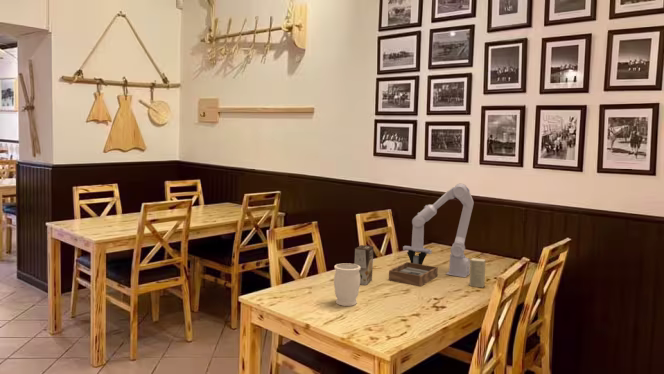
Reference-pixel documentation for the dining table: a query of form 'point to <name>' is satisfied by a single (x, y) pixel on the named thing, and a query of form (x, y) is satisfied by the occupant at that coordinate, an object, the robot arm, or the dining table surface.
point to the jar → (346, 283)
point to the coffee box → (364, 263)
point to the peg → (416, 259)
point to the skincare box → (477, 272)
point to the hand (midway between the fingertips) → (416, 266)
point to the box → (413, 273)
